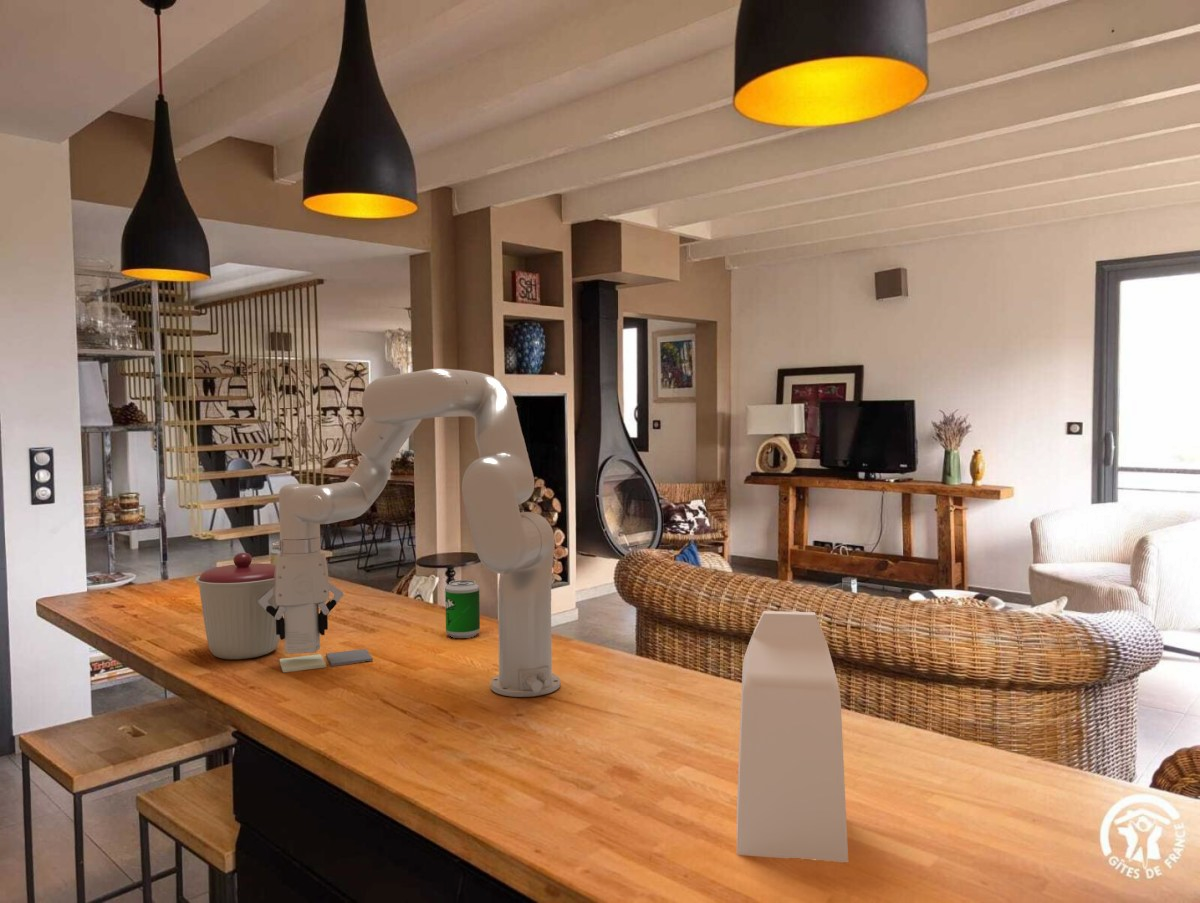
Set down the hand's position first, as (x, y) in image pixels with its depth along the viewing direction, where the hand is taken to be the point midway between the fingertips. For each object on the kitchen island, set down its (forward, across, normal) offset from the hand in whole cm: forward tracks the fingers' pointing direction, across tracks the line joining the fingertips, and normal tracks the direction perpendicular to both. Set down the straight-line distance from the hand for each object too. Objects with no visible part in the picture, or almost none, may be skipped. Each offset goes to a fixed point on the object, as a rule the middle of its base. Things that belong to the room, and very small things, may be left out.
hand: (302, 635), depth 170 cm
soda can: (+6, +35, +8) cm, 36 cm away
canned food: (+6, +5, +76) cm, 76 cm away
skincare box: (+3, 0, 0) cm, 3 cm away
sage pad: (+6, 0, 0) cm, 6 cm away
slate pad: (+6, +9, 0) cm, 11 cm away
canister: (+6, -10, +14) cm, 18 cm away
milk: (+6, +44, -98) cm, 108 cm away
